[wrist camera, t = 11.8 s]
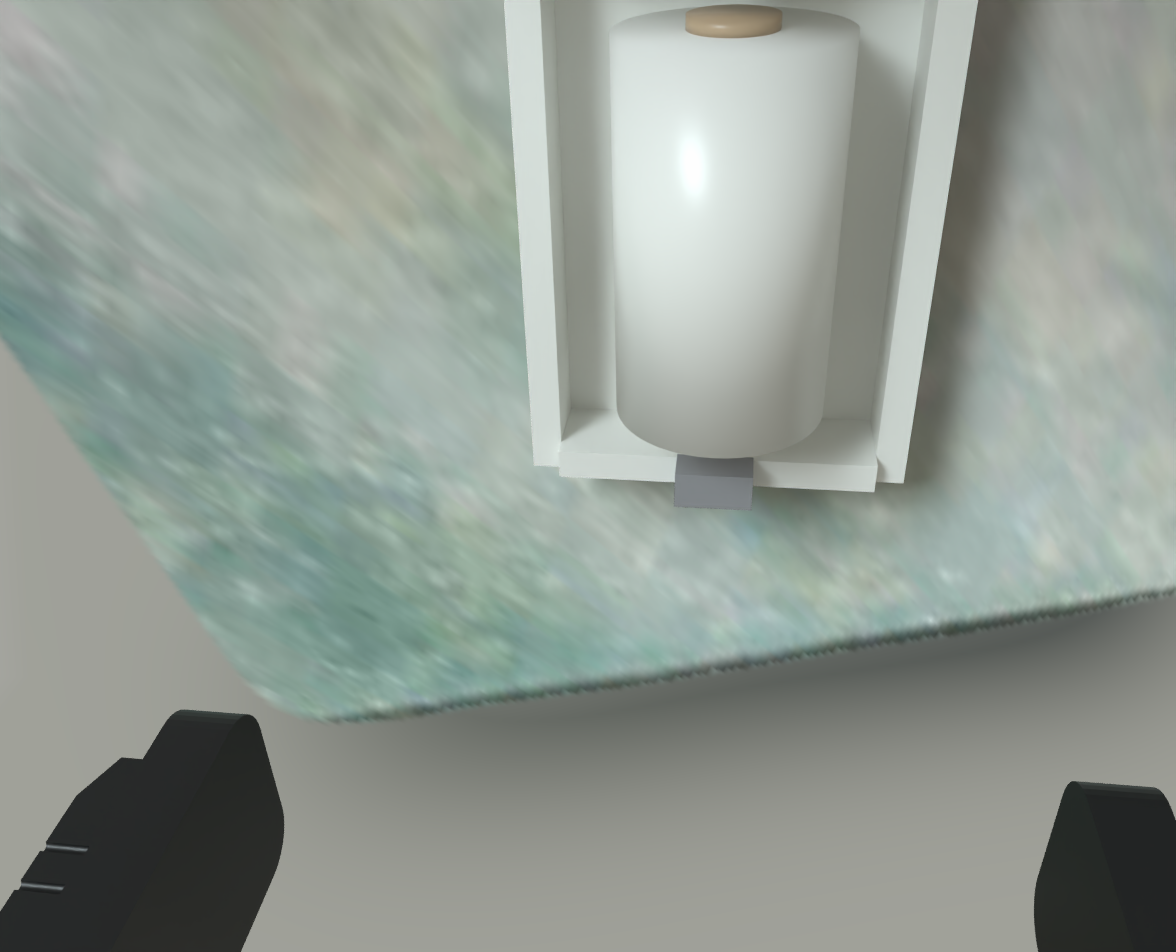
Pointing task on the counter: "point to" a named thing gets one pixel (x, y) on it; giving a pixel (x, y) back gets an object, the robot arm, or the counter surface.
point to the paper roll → (727, 221)
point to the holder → (865, 259)
